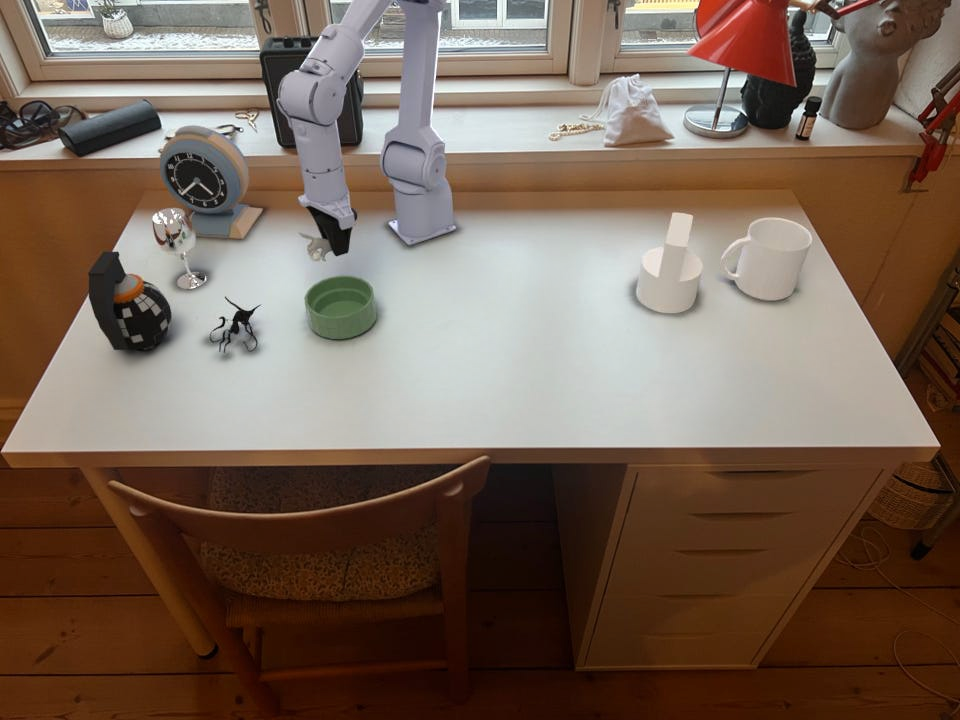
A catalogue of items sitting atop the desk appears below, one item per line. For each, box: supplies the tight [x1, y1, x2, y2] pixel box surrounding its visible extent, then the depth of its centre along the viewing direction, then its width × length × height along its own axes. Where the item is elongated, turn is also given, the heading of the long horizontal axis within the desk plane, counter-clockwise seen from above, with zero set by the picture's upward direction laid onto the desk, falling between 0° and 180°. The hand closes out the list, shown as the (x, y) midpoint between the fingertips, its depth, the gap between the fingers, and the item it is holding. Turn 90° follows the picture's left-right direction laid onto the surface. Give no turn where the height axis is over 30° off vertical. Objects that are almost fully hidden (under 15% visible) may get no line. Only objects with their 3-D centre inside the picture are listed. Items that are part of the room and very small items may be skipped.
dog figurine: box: [298, 231, 348, 262], centre depth 104 cm, size 3×8×6 cm
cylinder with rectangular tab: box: [635, 211, 704, 314], centre depth 105 cm, size 9×9×12 cm
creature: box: [209, 296, 263, 354], centre depth 101 cm, size 8×5×8 cm
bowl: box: [303, 274, 378, 340], centre depth 104 cm, size 10×10×4 cm
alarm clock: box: [159, 124, 264, 240], centre depth 120 cm, size 14×10×18 cm
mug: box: [719, 217, 813, 302], centre depth 108 cm, size 12×9×9 cm
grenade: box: [87, 251, 173, 352], centre depth 96 cm, size 11×10×15 cm
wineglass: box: [151, 207, 207, 290], centre depth 109 cm, size 6×6×12 cm
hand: (336, 247), depth 104 cm, fingers closed on dog figurine, 3 cm apart
